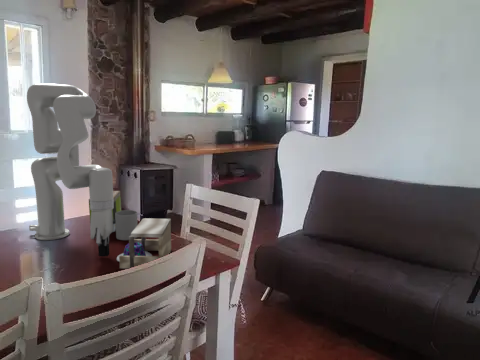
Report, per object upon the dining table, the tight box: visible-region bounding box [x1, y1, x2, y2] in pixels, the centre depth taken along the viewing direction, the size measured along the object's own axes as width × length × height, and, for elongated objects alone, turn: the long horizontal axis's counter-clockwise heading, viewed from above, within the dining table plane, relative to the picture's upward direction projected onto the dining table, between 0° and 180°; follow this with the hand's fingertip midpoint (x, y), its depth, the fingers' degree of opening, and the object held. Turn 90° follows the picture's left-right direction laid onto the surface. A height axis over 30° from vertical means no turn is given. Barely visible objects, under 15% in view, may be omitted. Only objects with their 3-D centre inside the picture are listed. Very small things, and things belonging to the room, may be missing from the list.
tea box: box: [88, 190, 122, 233], centre depth 166 cm, size 15×10×15 cm, turn 5°
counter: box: [118, 217, 172, 269], centre depth 133 cm, size 14×18×12 cm
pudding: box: [116, 242, 153, 262], centre depth 134 cm, size 12×12×5 cm
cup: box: [115, 209, 139, 241], centre depth 155 cm, size 8×8×10 cm
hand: (104, 255), depth 134 cm, fingers closed
